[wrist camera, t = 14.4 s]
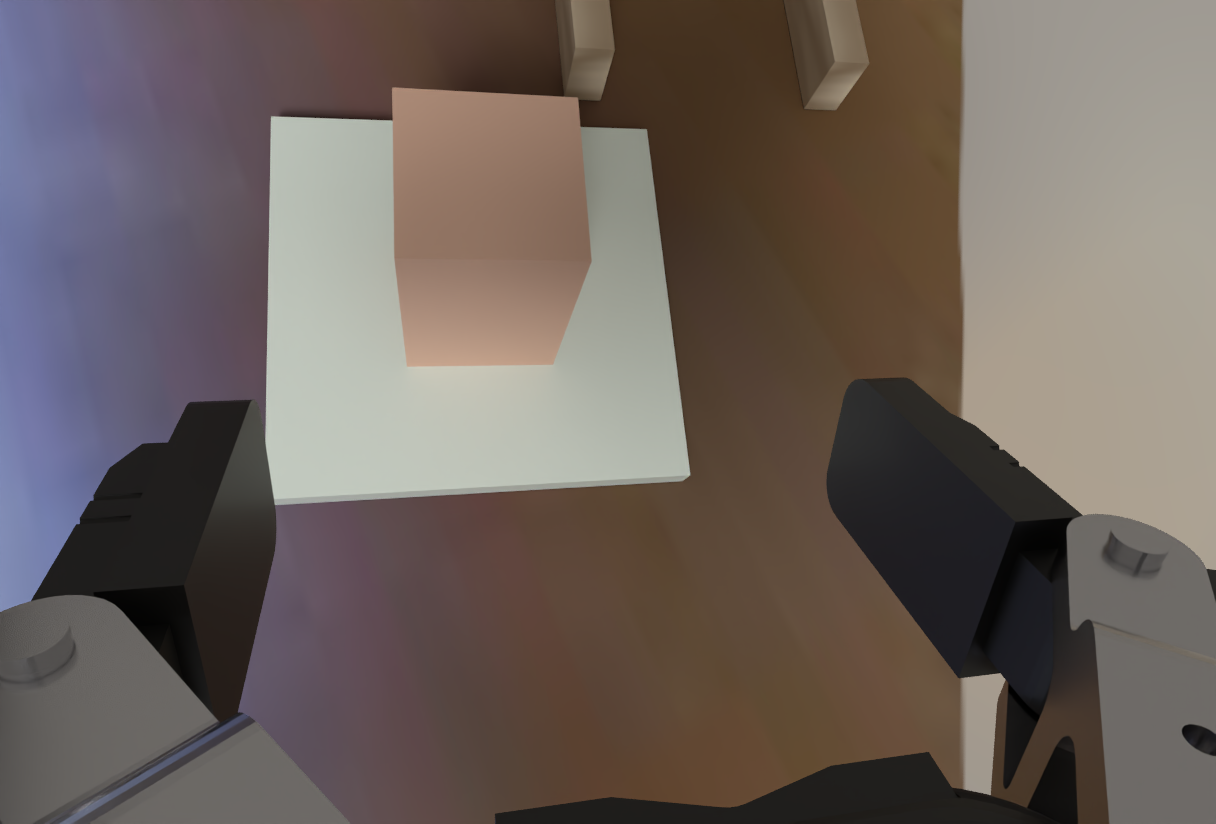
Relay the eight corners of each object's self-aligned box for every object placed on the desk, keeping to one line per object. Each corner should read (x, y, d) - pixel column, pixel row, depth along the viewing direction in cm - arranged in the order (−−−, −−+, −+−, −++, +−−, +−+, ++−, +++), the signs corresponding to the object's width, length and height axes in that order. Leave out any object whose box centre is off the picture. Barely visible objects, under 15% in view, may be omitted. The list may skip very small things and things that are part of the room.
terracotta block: (406, 366, 28) (394, 258, 21) (404, 234, 29) (392, 87, 22) (552, 364, 29) (591, 261, 22) (544, 236, 30) (578, 97, 23)
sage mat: (270, 505, 27) (264, 499, 26) (276, 133, 31) (271, 116, 30) (682, 481, 30) (690, 475, 29) (641, 144, 34) (646, 129, 33)
